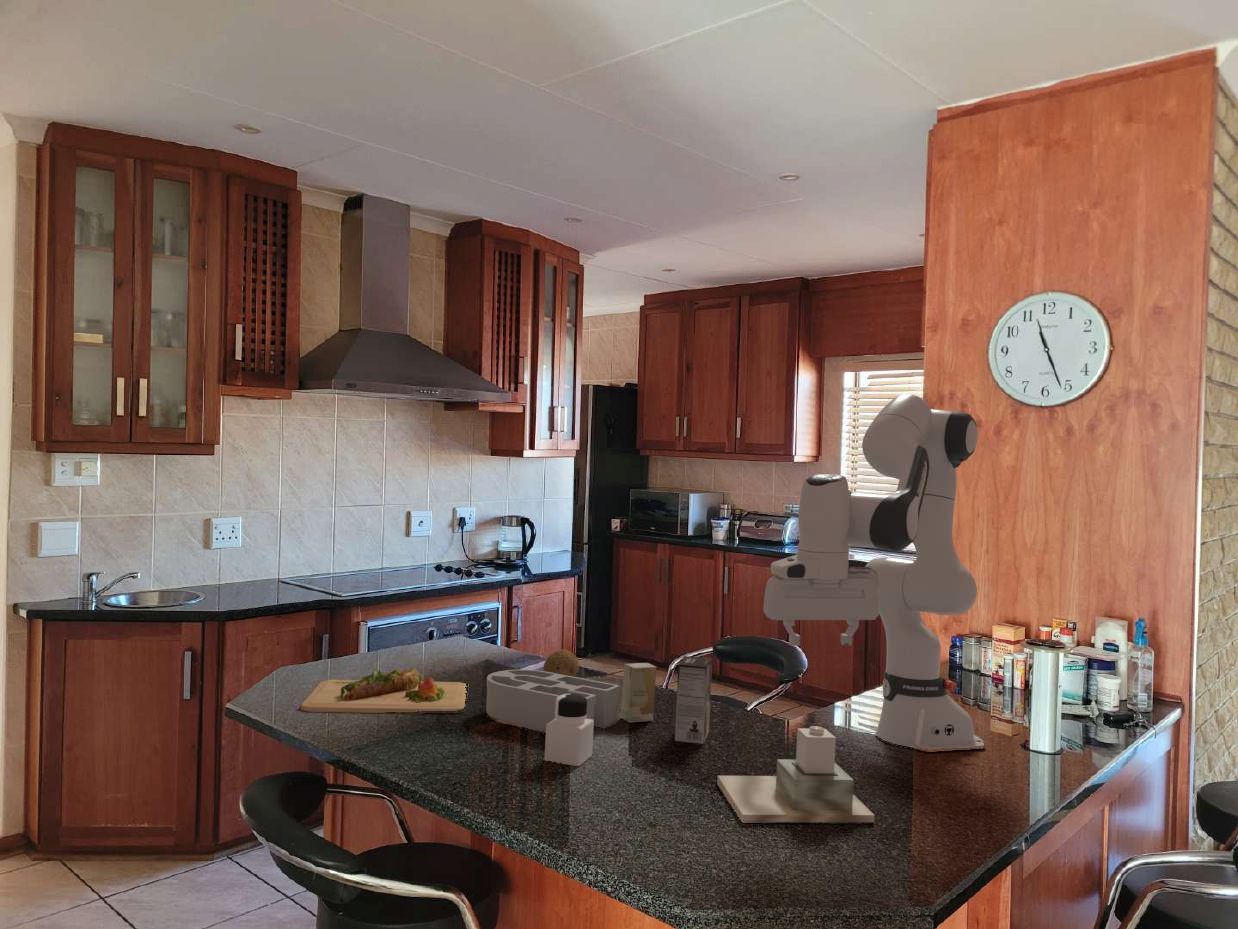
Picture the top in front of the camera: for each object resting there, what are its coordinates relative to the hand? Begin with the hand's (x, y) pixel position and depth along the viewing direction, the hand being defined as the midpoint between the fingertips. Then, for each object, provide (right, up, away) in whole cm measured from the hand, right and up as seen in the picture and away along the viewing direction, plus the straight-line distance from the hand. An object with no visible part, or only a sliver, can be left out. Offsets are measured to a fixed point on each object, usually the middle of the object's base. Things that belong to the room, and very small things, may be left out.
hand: (820, 644), depth 159 cm
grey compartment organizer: (-52, -25, +38) cm, 69 cm away
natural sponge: (-50, -24, +65) cm, 86 cm away
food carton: (-20, -26, +31) cm, 45 cm away
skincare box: (-31, -25, +42) cm, 58 cm away
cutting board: (-88, -23, +49) cm, 104 cm away
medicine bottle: (-45, -25, +13) cm, 53 cm away
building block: (-2, -20, -6) cm, 21 cm away
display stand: (-6, -26, -4) cm, 27 cm away
